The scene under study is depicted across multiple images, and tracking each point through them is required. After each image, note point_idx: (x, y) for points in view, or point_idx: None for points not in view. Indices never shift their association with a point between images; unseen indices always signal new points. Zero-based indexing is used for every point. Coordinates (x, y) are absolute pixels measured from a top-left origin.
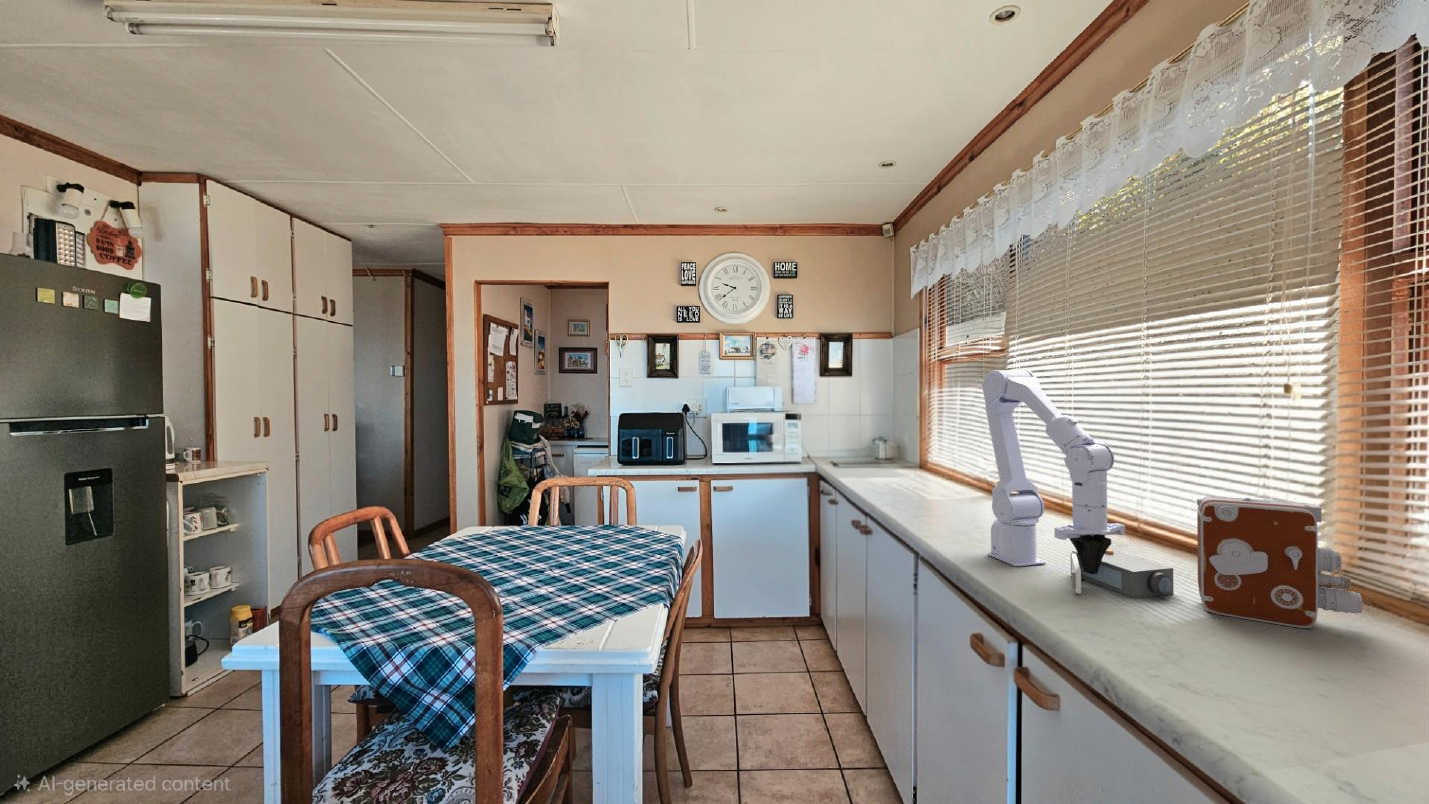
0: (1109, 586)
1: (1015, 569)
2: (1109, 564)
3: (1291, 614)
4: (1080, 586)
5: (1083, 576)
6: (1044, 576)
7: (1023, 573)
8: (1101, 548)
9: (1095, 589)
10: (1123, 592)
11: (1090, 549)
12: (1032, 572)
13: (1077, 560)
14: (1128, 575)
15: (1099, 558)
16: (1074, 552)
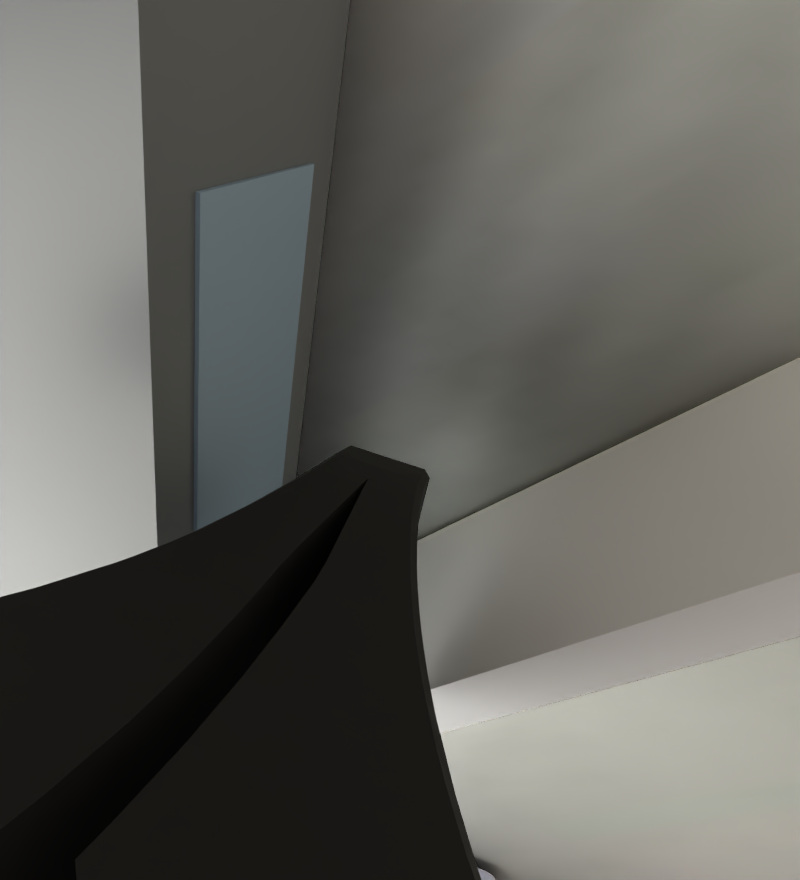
0: (304, 313)
1: (543, 862)
2: (159, 417)
3: None
4: None
5: None
6: (510, 721)
7: (583, 818)
8: (128, 681)
9: (448, 368)
10: (328, 130)
11: (459, 815)
12: (500, 788)
13: None
14: (202, 35)
15: (256, 549)
16: None
